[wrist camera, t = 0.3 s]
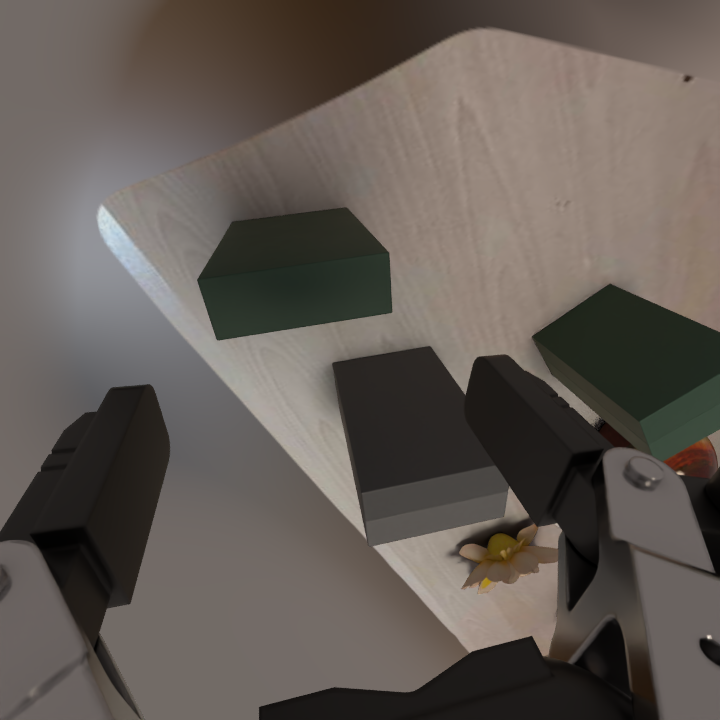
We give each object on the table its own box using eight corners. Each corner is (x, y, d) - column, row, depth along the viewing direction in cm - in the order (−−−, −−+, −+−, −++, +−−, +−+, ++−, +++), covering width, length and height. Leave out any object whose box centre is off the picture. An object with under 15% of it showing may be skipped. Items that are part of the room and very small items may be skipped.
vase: (676, 389, 48) (826, 485, 34) (645, 454, 53) (764, 556, 40) (598, 401, 46) (723, 505, 33) (574, 466, 52) (673, 576, 39)
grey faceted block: (332, 362, 37) (361, 493, 23) (430, 345, 38) (513, 461, 24) (339, 407, 40) (368, 547, 26) (430, 391, 41) (504, 517, 27)
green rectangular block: (531, 336, 39) (639, 421, 28) (610, 283, 38) (760, 349, 26) (551, 374, 43) (656, 465, 31) (625, 327, 41) (764, 404, 29)
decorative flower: (453, 592, 60) (485, 656, 50) (439, 537, 56) (470, 595, 47) (538, 558, 61) (585, 614, 52) (530, 503, 58) (578, 552, 48)
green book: (231, 221, 29) (196, 279, 17) (347, 207, 30) (389, 252, 18) (242, 262, 31) (216, 341, 19) (351, 247, 32) (392, 313, 20)
